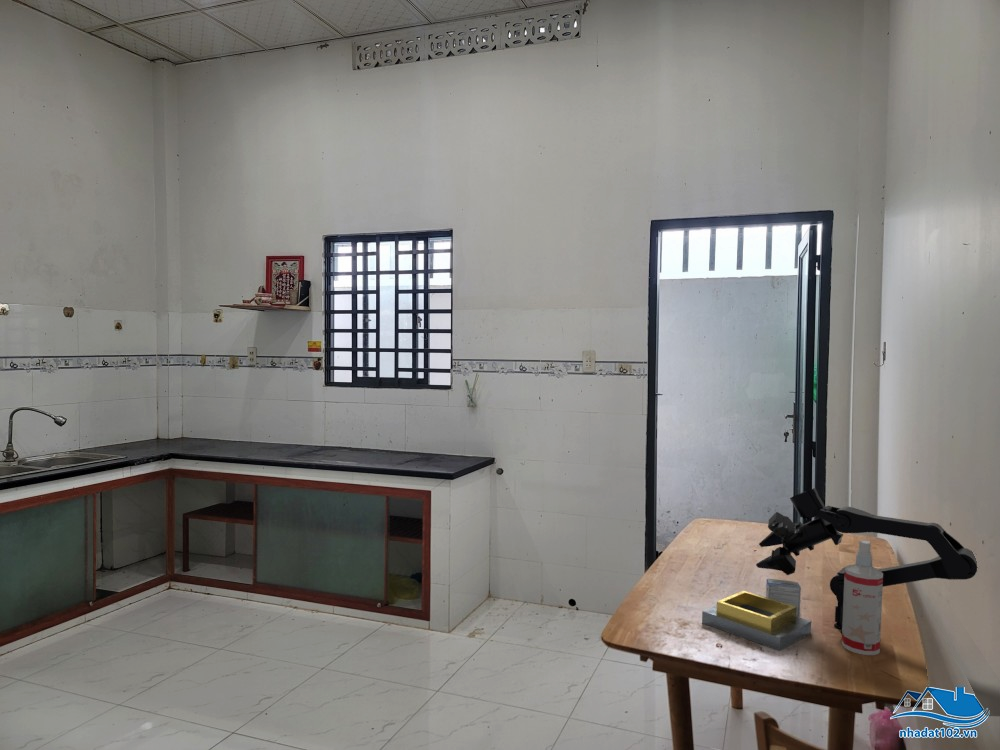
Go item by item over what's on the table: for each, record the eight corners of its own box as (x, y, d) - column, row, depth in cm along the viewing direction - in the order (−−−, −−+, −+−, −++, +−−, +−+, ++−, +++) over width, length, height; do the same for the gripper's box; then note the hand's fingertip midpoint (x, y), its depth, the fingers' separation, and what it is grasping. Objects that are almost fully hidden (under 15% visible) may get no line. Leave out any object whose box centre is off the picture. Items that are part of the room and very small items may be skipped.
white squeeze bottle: (867, 641, 158) (871, 537, 158) (886, 655, 151) (891, 546, 150) (835, 640, 158) (839, 536, 157) (853, 654, 151) (857, 545, 150)
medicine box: (797, 614, 175) (798, 581, 174) (800, 620, 170) (801, 586, 170) (765, 610, 177) (766, 577, 177) (767, 616, 172) (768, 583, 172)
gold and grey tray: (810, 633, 162) (811, 609, 162) (779, 650, 151) (780, 624, 151) (734, 608, 177) (735, 586, 177) (701, 623, 166) (702, 599, 166)
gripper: (793, 491, 180) (743, 513, 189) (789, 531, 165) (736, 554, 173) (818, 522, 180) (767, 543, 189) (817, 565, 165) (762, 586, 174)
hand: (758, 555), depth 181 cm, fingers open, 9 cm apart
